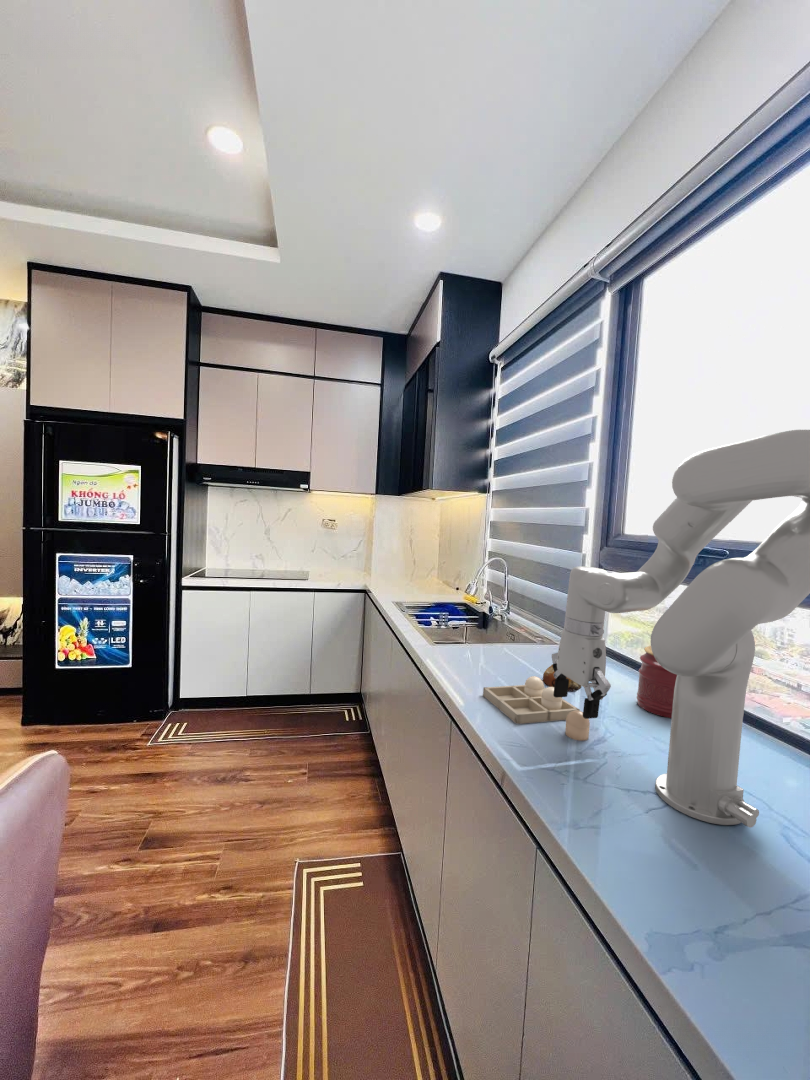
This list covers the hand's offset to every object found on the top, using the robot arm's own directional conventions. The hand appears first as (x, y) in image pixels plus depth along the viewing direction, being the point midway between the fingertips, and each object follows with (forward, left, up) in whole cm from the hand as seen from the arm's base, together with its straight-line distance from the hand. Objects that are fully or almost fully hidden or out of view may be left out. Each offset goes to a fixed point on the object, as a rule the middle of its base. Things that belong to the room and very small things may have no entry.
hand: (574, 706), depth 96 cm
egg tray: (+14, +2, -6) cm, 15 cm away
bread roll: (+26, -16, -7) cm, 31 cm away
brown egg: (-1, 0, -6) cm, 6 cm away
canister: (+8, -33, -6) cm, 35 cm away
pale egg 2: (+10, -2, -6) cm, 12 cm away
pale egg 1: (+18, -2, -6) cm, 19 cm away
